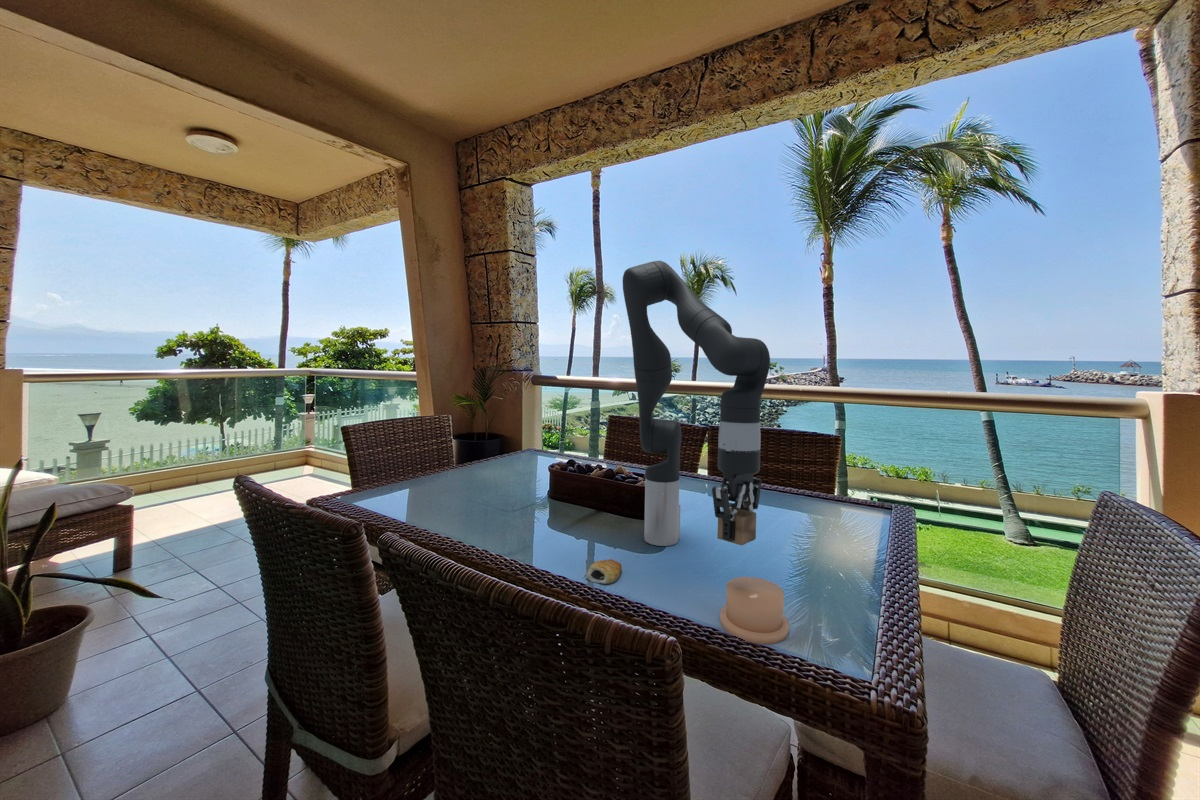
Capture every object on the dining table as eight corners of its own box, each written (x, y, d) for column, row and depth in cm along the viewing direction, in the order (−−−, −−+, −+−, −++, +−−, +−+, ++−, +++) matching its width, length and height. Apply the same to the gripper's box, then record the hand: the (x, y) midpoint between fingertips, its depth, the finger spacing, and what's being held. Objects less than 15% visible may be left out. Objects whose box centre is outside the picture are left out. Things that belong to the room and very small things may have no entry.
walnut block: (731, 532, 91) (732, 507, 91) (755, 539, 88) (756, 512, 88) (717, 538, 88) (718, 512, 88) (741, 545, 84) (742, 518, 84)
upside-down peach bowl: (740, 602, 96) (741, 569, 95) (799, 626, 87) (801, 589, 87) (707, 625, 87) (708, 588, 87) (770, 653, 79) (771, 612, 78)
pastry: (603, 565, 113) (603, 550, 113) (628, 571, 110) (629, 556, 110) (583, 581, 105) (583, 564, 105) (610, 588, 102) (610, 571, 102)
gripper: (740, 440, 95) (738, 524, 95) (699, 447, 85) (697, 540, 86) (776, 444, 89) (773, 533, 90) (737, 452, 79) (734, 551, 80)
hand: (736, 536), depth 88 cm, fingers closed on walnut block, 5 cm apart
